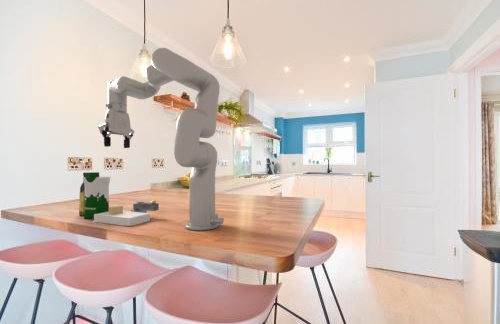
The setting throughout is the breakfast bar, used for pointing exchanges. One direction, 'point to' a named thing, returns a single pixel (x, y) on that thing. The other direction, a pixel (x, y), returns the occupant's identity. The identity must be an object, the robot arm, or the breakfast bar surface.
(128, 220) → the grey base with block
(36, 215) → the breakfast bar surface
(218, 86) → the robot arm
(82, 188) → the sauce bottle
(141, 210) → the jamb post
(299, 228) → the breakfast bar surface
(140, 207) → the latch arm
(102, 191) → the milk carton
